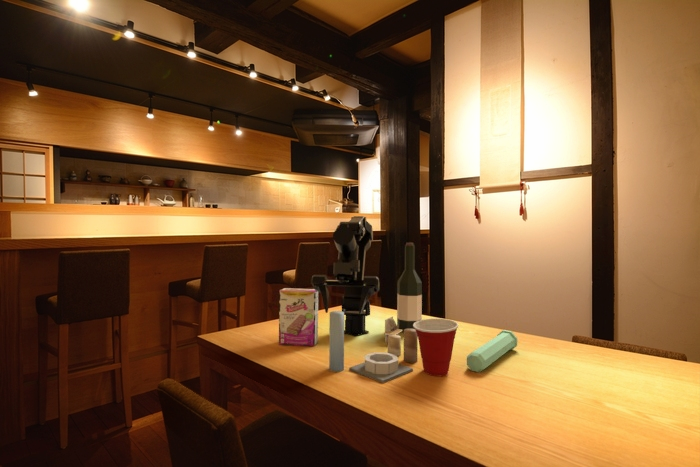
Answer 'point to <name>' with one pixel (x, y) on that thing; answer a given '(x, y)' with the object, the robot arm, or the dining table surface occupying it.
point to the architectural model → (390, 328)
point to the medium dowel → (410, 345)
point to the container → (491, 351)
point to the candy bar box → (298, 317)
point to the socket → (381, 367)
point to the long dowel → (336, 341)
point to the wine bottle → (409, 292)
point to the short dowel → (394, 345)
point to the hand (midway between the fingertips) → (343, 313)
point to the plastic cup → (436, 344)
